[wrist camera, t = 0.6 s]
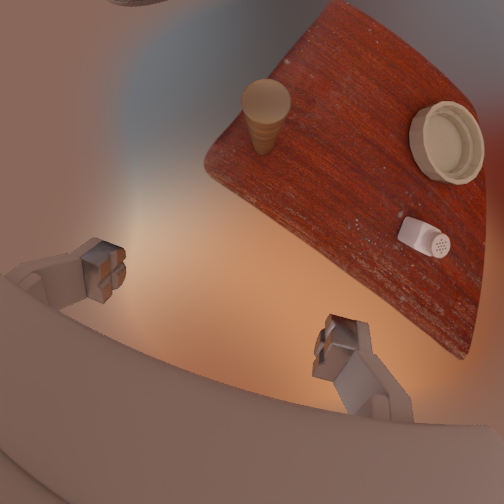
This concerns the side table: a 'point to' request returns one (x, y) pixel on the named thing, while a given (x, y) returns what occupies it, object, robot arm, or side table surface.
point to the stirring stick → (265, 112)
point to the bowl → (447, 143)
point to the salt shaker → (424, 238)
